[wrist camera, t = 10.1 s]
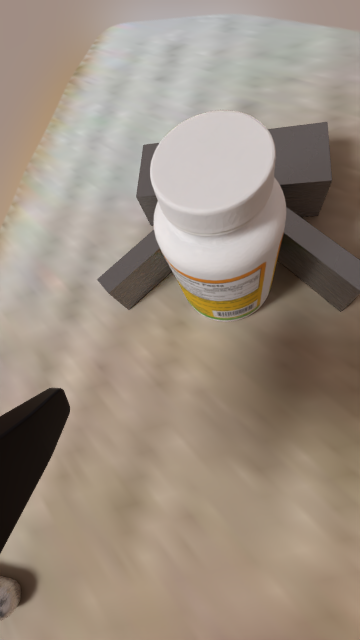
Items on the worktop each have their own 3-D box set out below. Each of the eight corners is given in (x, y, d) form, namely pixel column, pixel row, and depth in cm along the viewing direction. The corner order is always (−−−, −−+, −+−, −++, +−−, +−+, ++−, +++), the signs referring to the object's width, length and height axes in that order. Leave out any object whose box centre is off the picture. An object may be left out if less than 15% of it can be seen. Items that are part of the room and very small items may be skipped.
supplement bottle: (217, 230, 19) (194, 73, 10) (289, 270, 17) (339, 122, 8) (168, 293, 19) (96, 186, 10) (236, 341, 17) (229, 265, 8)
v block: (357, 311, 16) (381, 291, 13) (116, 309, 19) (94, 293, 16) (342, 160, 19) (360, 117, 16) (135, 181, 22) (119, 148, 19)
